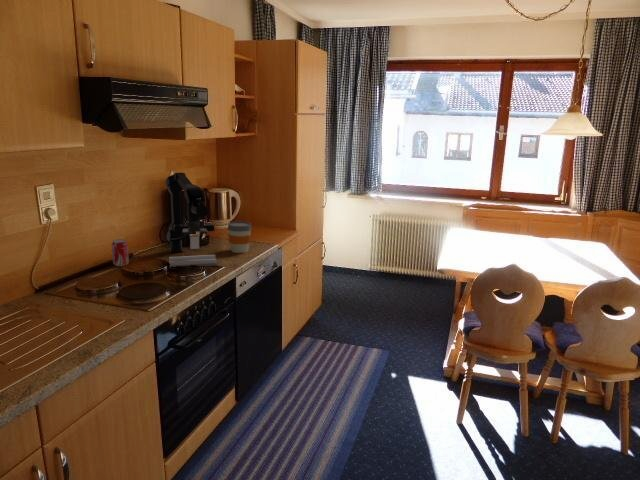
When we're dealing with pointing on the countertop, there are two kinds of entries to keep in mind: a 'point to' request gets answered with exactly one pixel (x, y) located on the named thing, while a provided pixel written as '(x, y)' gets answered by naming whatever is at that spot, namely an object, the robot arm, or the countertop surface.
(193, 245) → the block
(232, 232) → the reusable coffee cup
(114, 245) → the soda can
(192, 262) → the rail
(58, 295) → the countertop surface
